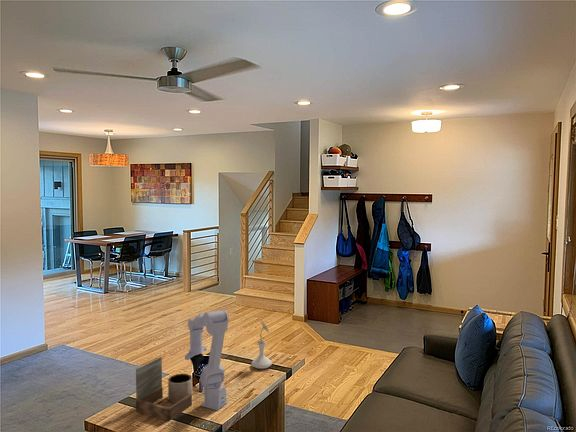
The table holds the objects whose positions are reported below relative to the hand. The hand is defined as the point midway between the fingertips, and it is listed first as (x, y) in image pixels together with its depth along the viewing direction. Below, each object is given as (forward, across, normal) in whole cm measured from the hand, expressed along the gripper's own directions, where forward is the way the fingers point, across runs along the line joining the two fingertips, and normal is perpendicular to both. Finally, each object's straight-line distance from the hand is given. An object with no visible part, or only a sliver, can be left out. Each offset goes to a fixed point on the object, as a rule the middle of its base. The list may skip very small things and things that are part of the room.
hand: (196, 369), depth 208 cm
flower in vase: (+10, -38, +16) cm, 42 cm away
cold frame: (+9, +22, 0) cm, 24 cm away
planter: (+10, +12, 0) cm, 15 cm away
